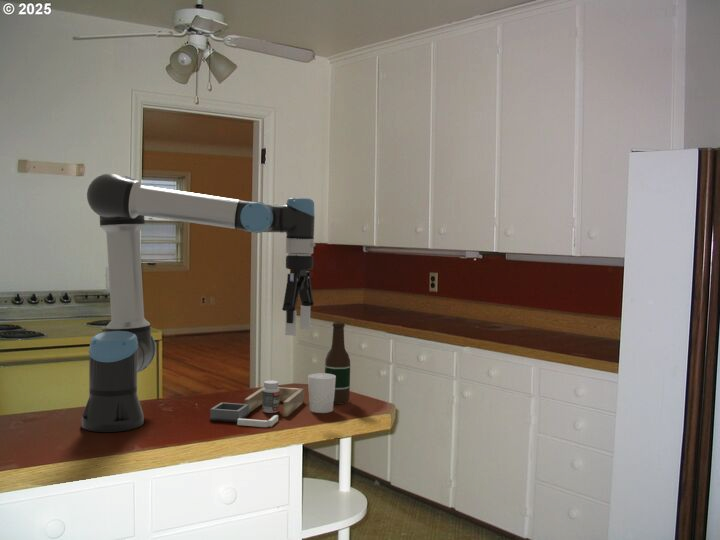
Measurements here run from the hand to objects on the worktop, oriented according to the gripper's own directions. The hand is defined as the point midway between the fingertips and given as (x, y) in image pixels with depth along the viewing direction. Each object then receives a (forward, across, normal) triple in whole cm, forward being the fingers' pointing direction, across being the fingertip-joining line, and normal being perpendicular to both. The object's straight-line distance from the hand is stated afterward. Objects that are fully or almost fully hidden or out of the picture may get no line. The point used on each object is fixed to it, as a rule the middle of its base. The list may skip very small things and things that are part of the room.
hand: (298, 332), depth 200 cm
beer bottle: (+24, +20, -6) cm, 32 cm away
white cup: (+24, +8, -5) cm, 25 cm away
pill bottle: (+24, +3, +8) cm, 25 cm away
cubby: (+23, +7, +9) cm, 26 cm away
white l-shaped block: (+23, -10, +8) cm, 26 cm away
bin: (+23, -7, +17) cm, 30 cm away
